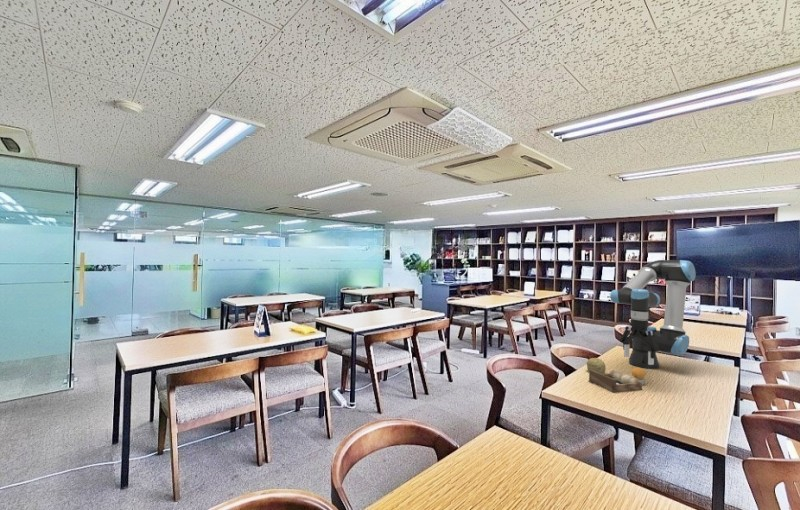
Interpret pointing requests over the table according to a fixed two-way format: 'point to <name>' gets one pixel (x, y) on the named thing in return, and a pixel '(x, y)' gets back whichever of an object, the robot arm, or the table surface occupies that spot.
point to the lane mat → (616, 384)
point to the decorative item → (596, 365)
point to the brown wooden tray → (610, 381)
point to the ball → (638, 373)
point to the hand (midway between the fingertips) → (638, 360)
